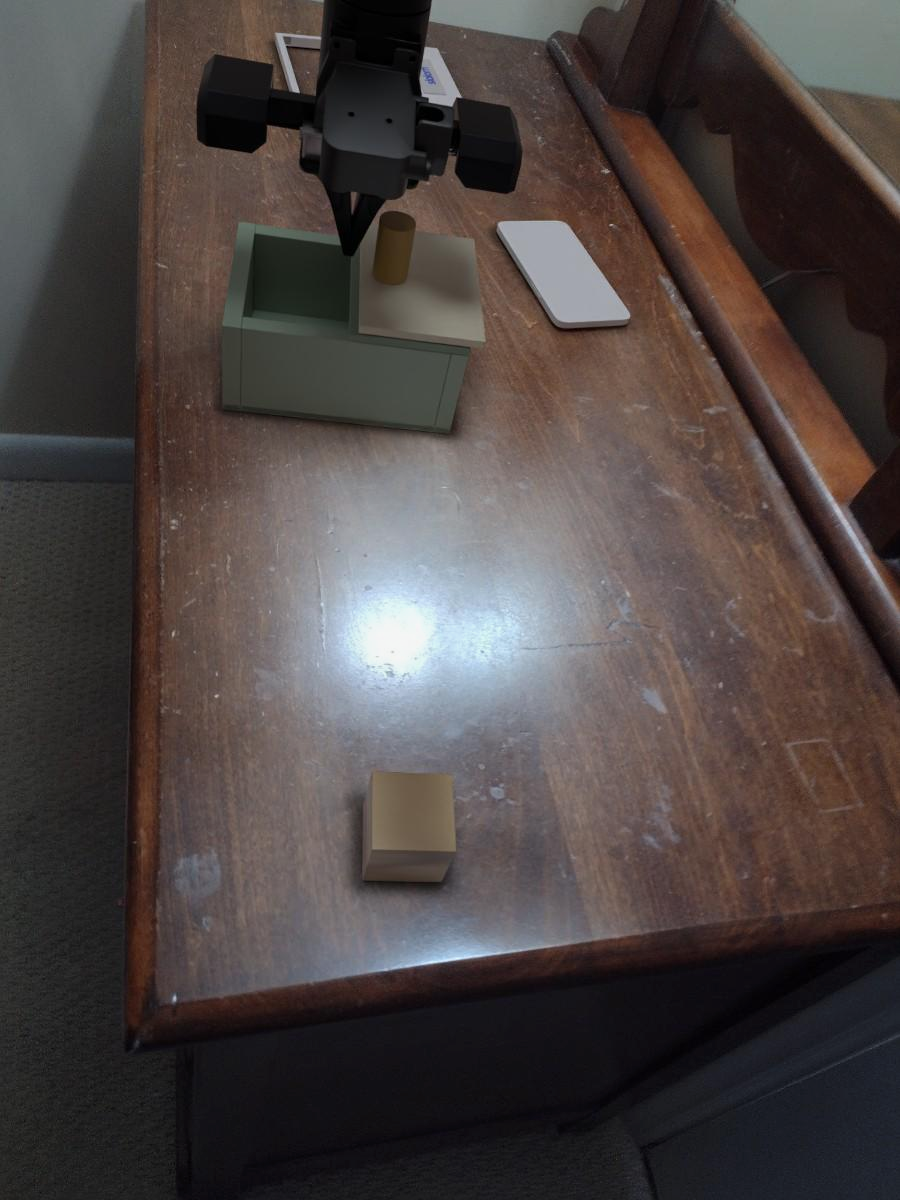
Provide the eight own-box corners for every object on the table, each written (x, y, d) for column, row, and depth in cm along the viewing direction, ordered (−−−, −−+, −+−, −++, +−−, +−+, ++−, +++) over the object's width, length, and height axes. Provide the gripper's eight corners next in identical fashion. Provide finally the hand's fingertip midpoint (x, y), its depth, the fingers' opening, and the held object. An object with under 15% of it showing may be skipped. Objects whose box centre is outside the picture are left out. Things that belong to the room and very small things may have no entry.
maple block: (361, 881, 45) (371, 849, 42) (362, 805, 48) (372, 770, 45) (441, 882, 46) (457, 851, 43) (438, 808, 49) (452, 774, 45)
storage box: (222, 409, 64) (221, 317, 58) (238, 304, 71) (238, 213, 65) (449, 434, 66) (470, 348, 60) (442, 331, 74) (461, 245, 68)
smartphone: (565, 220, 86) (634, 318, 78) (563, 227, 87) (631, 326, 79) (494, 221, 84) (558, 323, 76) (492, 228, 84) (555, 330, 76)
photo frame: (470, 111, 95) (295, 98, 90) (468, 122, 96) (294, 110, 90) (437, 46, 103) (275, 30, 98) (435, 56, 104) (274, 41, 99)
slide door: (358, 333, 59) (366, 270, 56) (360, 229, 66) (367, 168, 63) (484, 349, 61) (500, 288, 57) (472, 246, 68) (486, 186, 64)
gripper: (179, 23, 43) (189, 308, 55) (565, 94, 46) (494, 347, 58) (205, -65, 49) (209, 206, 61) (540, 2, 53) (481, 247, 65)
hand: (348, 252), depth 61 cm, fingers closed
